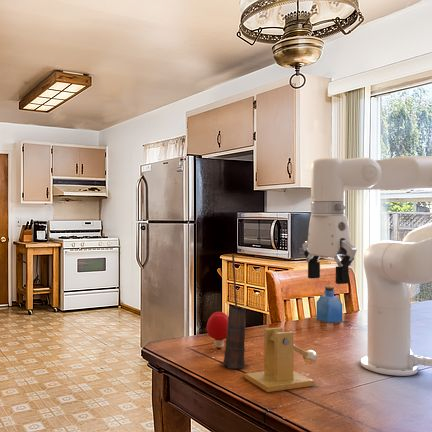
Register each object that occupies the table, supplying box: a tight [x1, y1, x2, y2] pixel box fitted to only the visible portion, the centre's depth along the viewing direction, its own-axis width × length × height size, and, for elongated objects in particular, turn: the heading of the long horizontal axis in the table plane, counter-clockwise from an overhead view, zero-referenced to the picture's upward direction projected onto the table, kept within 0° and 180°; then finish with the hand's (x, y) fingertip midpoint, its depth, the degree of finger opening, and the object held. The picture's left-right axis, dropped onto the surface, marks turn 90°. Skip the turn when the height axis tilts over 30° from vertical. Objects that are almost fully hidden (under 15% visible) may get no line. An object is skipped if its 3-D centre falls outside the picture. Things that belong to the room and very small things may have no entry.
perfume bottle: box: [315, 286, 343, 324], centre depth 170 cm, size 6×6×12 cm
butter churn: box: [223, 254, 247, 370], centre depth 118 cm, size 9×10×28 cm
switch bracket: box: [244, 326, 314, 393], centre depth 107 cm, size 12×9×12 cm
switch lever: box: [270, 330, 318, 365], centre depth 109 cm, size 13×3×3 cm
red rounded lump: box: [206, 311, 228, 350], centre depth 134 cm, size 9×7×10 cm
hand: (327, 280), depth 114 cm, fingers open, 9 cm apart
